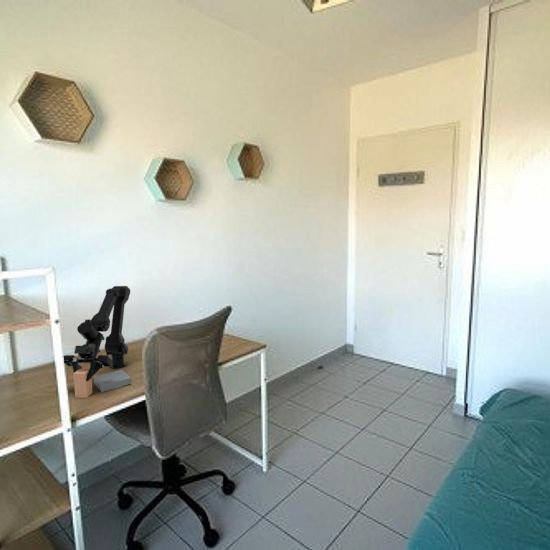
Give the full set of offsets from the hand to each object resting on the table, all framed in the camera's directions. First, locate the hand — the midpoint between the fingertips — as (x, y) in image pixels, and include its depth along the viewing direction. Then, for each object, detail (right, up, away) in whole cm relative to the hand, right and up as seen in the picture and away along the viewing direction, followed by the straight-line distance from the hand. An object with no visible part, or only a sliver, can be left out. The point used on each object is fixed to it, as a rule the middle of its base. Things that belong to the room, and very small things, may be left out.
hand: (80, 380), depth 153 cm
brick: (0, -6, +2) cm, 7 cm away
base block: (+7, -5, +13) cm, 15 cm away
